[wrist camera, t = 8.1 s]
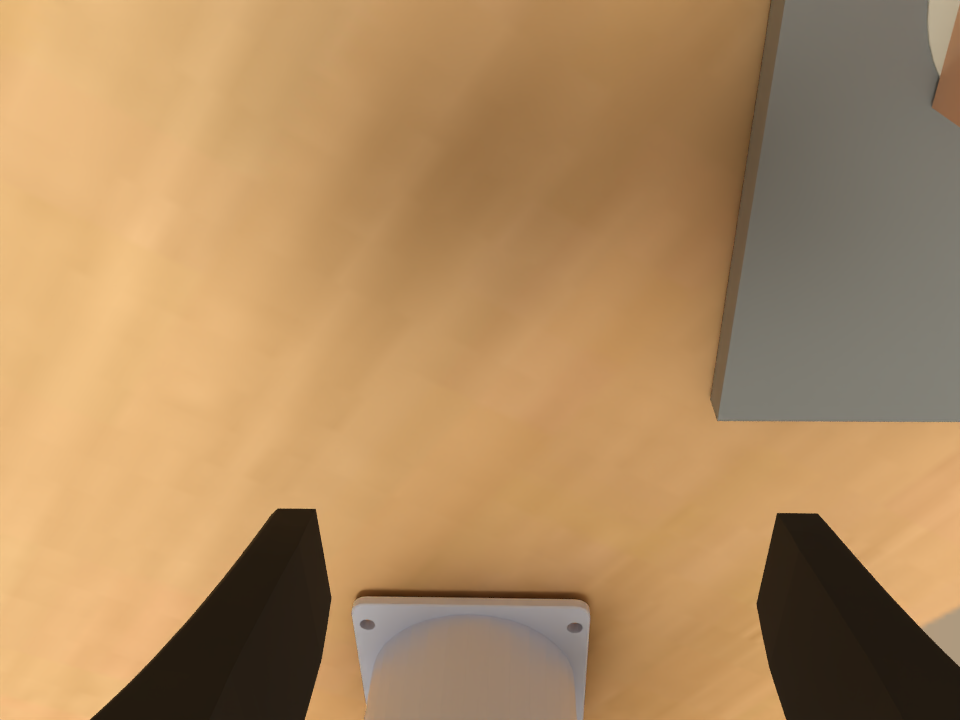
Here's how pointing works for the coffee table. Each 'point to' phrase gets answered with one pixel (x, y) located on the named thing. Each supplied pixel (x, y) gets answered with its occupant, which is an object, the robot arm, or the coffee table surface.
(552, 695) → the robot arm
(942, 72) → the tan square tube block
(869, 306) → the post board
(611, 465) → the coffee table surface
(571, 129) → the coffee table surface
